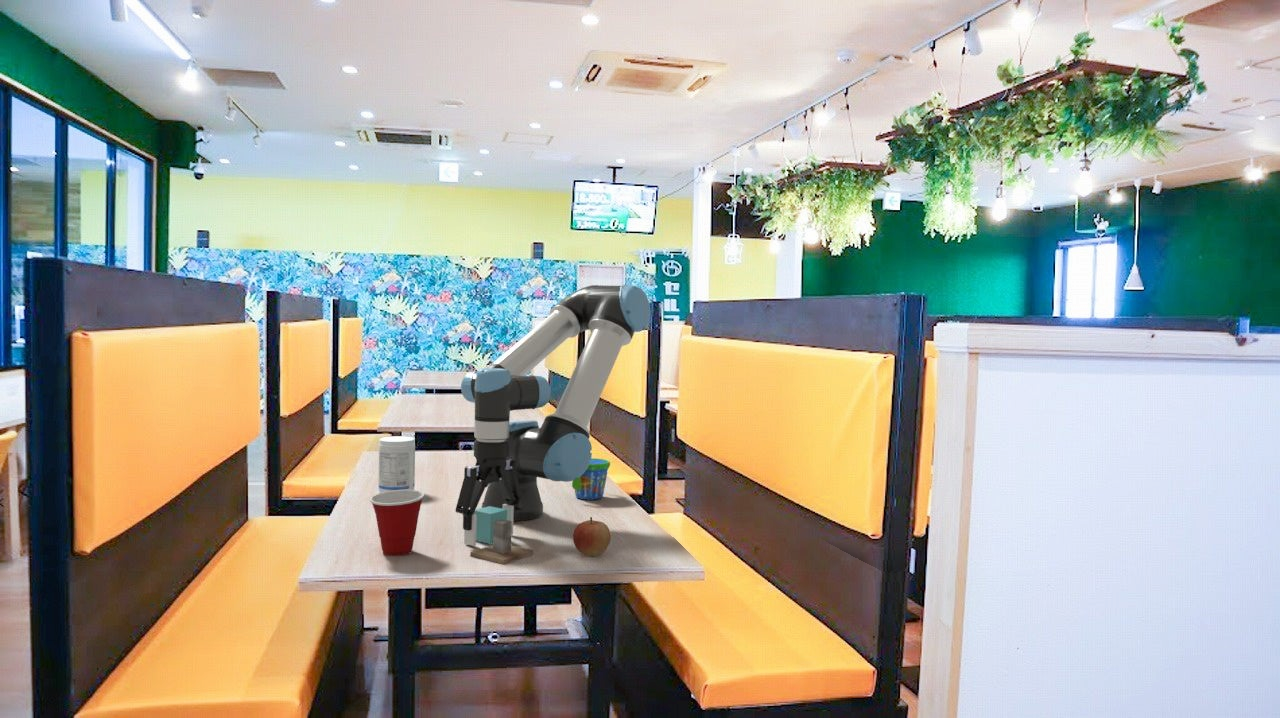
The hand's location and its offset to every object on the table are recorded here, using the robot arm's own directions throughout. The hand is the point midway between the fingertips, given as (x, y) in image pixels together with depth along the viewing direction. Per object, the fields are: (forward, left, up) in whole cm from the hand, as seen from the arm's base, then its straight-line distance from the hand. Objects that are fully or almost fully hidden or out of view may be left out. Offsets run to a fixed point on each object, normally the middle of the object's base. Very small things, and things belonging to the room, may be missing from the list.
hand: (489, 539), depth 184 cm
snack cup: (-49, -9, 0) cm, 50 cm away
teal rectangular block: (0, 0, 0) cm, 0 cm away
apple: (-5, +24, 0) cm, 25 cm away
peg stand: (+7, +10, 0) cm, 12 cm away
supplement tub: (-20, -53, 0) cm, 57 cm away
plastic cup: (+19, -8, 0) cm, 21 cm away
